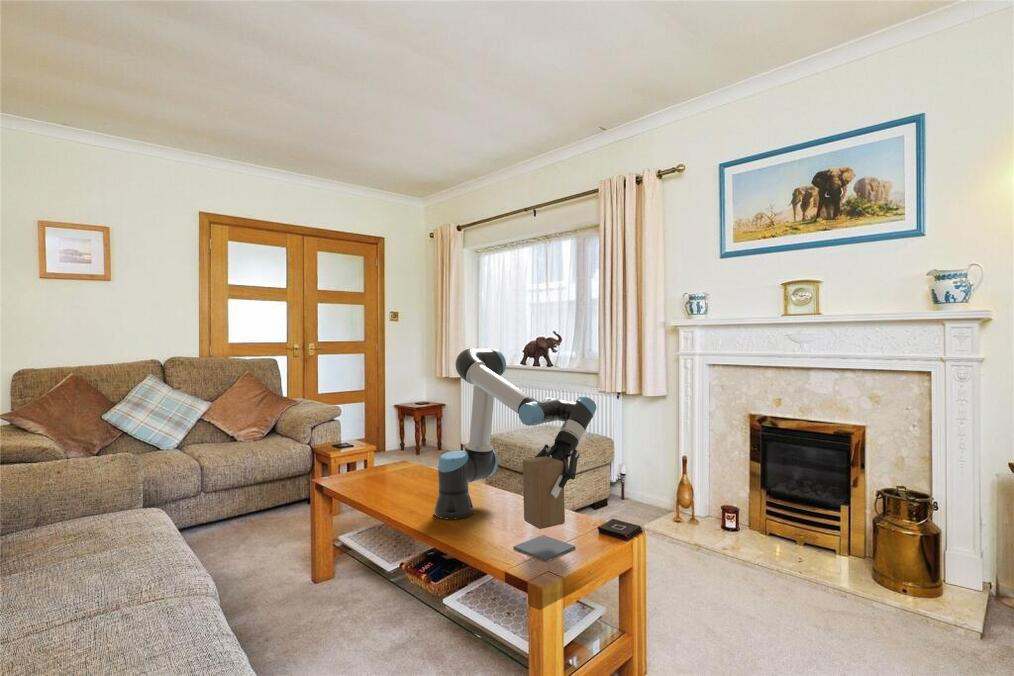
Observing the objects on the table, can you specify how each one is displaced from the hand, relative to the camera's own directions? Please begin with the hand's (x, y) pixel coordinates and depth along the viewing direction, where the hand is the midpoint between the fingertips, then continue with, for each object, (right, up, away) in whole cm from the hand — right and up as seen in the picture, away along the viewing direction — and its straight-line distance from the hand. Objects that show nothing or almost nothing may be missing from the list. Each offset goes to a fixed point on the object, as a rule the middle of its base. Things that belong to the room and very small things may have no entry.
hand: (538, 491), depth 161 cm
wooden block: (+2, -10, +1) cm, 11 cm away
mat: (+2, -19, +2) cm, 19 cm away
